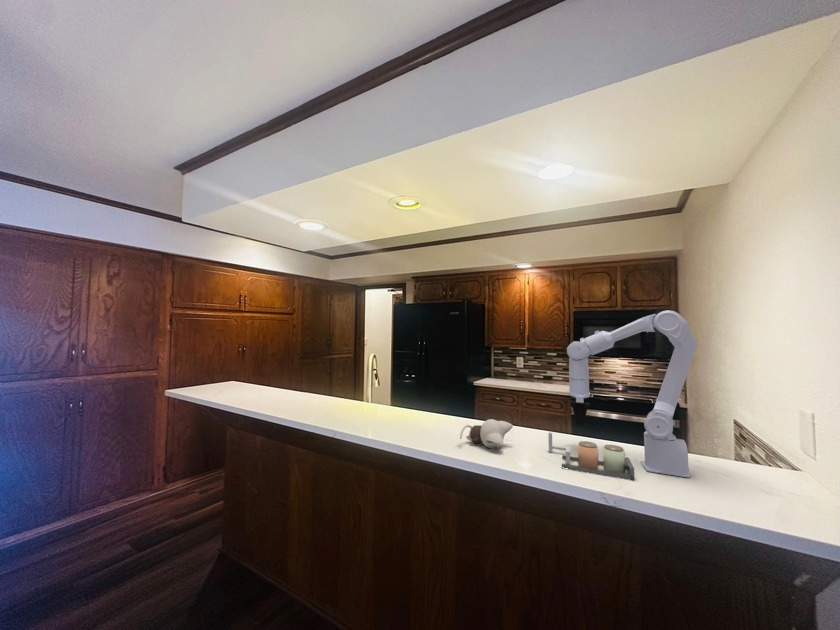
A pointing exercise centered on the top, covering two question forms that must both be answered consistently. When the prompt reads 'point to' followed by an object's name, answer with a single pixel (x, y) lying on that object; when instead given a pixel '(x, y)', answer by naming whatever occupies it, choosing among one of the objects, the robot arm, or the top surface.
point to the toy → (488, 433)
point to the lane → (628, 468)
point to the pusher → (559, 448)
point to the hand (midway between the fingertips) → (579, 422)
